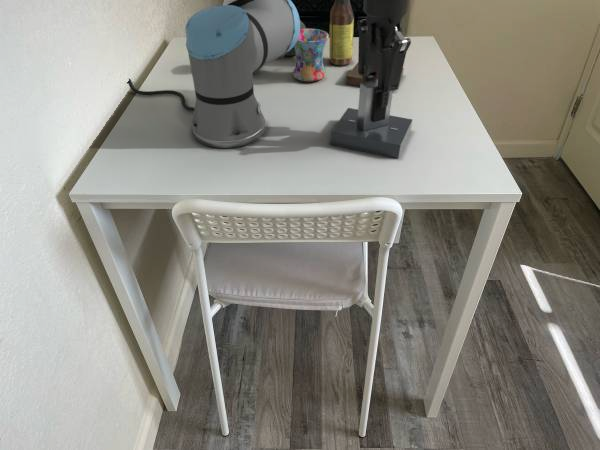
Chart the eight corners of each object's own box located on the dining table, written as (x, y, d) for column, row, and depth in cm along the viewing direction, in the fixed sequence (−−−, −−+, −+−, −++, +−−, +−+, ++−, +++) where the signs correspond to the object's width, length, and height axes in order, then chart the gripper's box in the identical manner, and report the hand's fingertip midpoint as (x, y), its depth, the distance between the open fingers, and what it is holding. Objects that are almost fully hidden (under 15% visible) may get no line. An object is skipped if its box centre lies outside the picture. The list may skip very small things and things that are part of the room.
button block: (346, 84, 114) (347, 68, 112) (357, 69, 121) (359, 54, 119) (393, 92, 111) (395, 76, 108) (402, 76, 118) (404, 61, 115)
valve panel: (330, 144, 93) (331, 130, 91) (347, 120, 100) (348, 106, 98) (398, 158, 89) (400, 144, 87) (410, 132, 96) (412, 118, 94)
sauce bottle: (356, 63, 124) (362, -17, 111) (338, 68, 122) (342, -13, 109) (341, 55, 128) (345, -23, 115) (323, 60, 126) (325, -19, 113)
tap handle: (363, 131, 91) (367, 87, 85) (356, 125, 92) (360, 81, 86) (388, 124, 93) (394, 80, 87) (381, 119, 94) (386, 75, 88)
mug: (314, 87, 113) (315, 44, 106) (284, 79, 117) (282, 36, 110) (338, 71, 120) (341, 29, 113) (309, 63, 124) (309, 23, 117)
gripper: (436, -4, 72) (412, 129, 87) (380, -25, 82) (368, 97, 98) (396, 3, 69) (379, 138, 85) (344, -20, 80) (337, 104, 95)
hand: (373, 116), depth 91 cm, fingers closed on tap handle, 2 cm apart
